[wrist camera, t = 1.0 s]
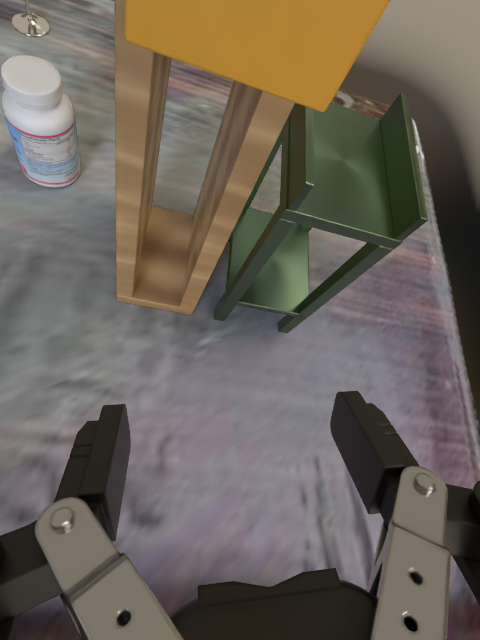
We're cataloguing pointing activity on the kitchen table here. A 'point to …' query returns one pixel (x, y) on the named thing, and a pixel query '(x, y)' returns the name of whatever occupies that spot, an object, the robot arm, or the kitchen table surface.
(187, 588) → the kitchen table surface
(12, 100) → the pill bottle
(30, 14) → the wineglass
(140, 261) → the tall stand
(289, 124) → the book rack
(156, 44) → the book
